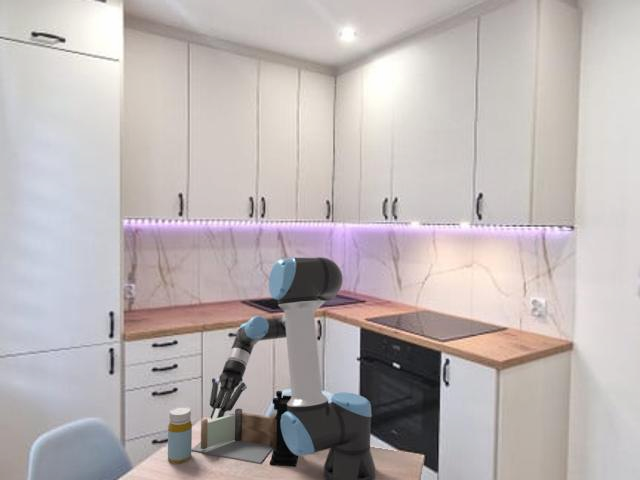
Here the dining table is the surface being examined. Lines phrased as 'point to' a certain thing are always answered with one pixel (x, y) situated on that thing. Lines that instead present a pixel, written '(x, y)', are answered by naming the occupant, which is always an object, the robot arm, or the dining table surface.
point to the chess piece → (281, 450)
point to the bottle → (179, 435)
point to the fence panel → (217, 430)
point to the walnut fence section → (255, 428)
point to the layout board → (237, 450)
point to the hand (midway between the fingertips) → (212, 429)
